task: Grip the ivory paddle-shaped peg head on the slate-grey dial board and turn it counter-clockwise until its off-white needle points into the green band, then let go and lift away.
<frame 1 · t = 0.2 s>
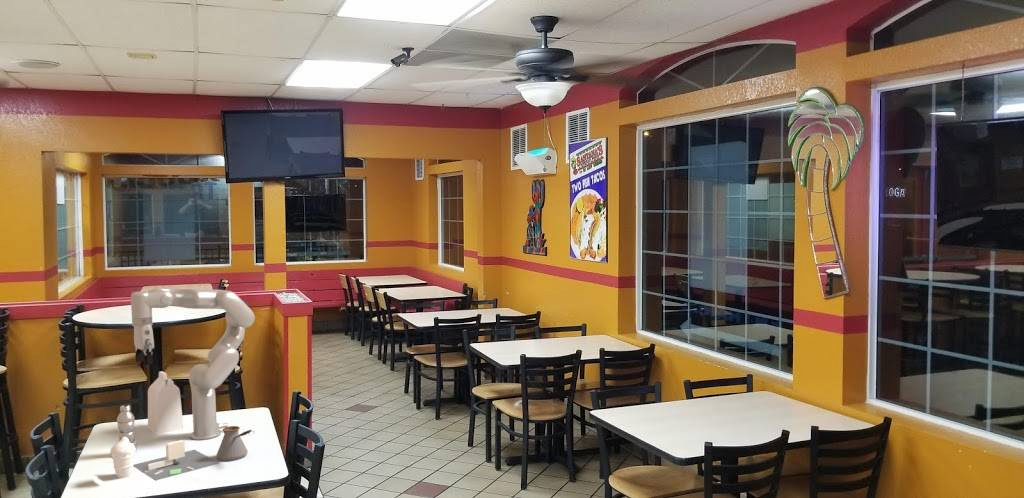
hand: (144, 362, 310), 36 cm above the table, tool pointing down, fingers open, 9 cm apart
milk: (165, 429, 341), on the table
peg head: (166, 455, 286), point 6 cm above the table, hinge at 0.0°
coffee pot: (239, 463, 294), on the table
soft serve ice cream cone: (124, 480, 278), on the table
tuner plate: (176, 467, 289), on the table
plastic bottle: (127, 454, 307), on the table
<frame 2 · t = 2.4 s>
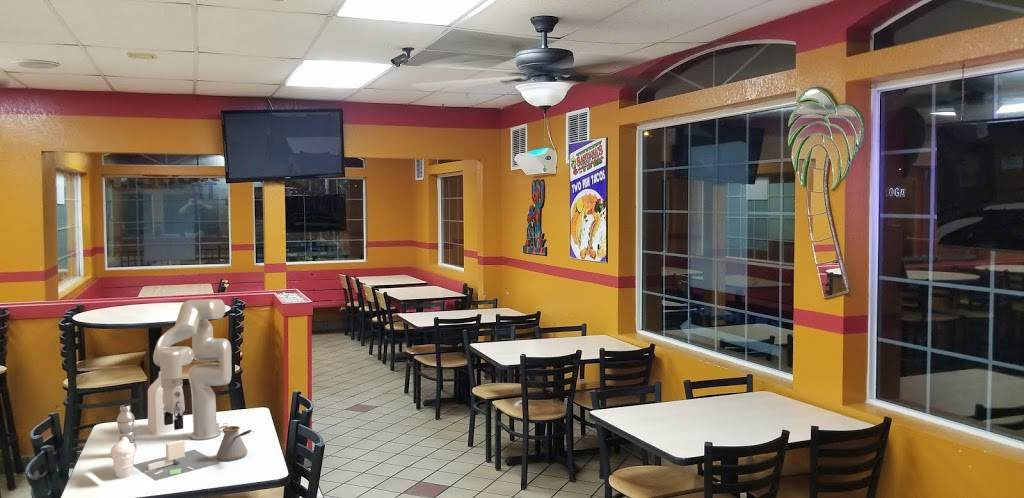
hand: (173, 426, 288), 16 cm above the table, tool pointing down, fingers open, 9 cm apart
nothing on the table moved.
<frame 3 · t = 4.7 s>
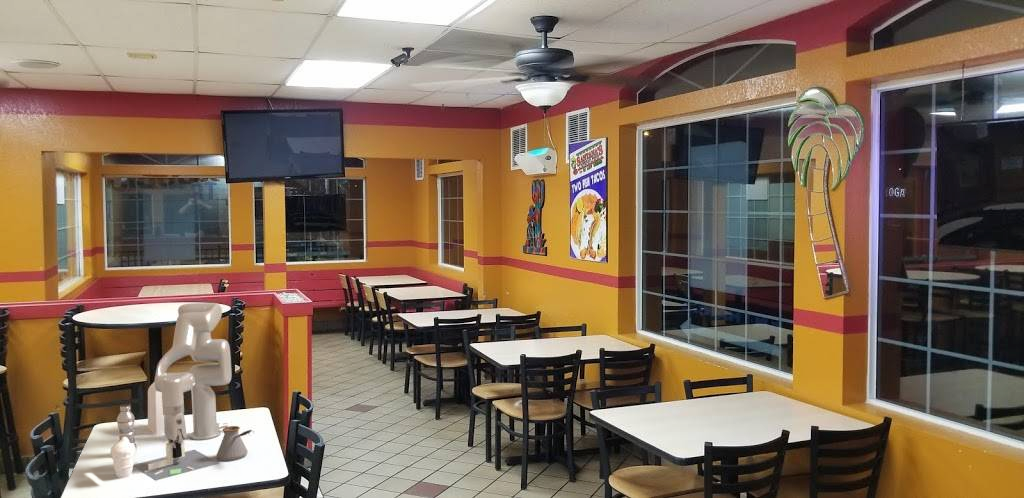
hand: (175, 456, 289), 5 cm above the table, tool pointing down, fingers closed on peg head, 2 cm apart
peg head: (166, 455, 286), point 6 cm above the table, hinge at 0.0°, touching gripper
everything else where it was.
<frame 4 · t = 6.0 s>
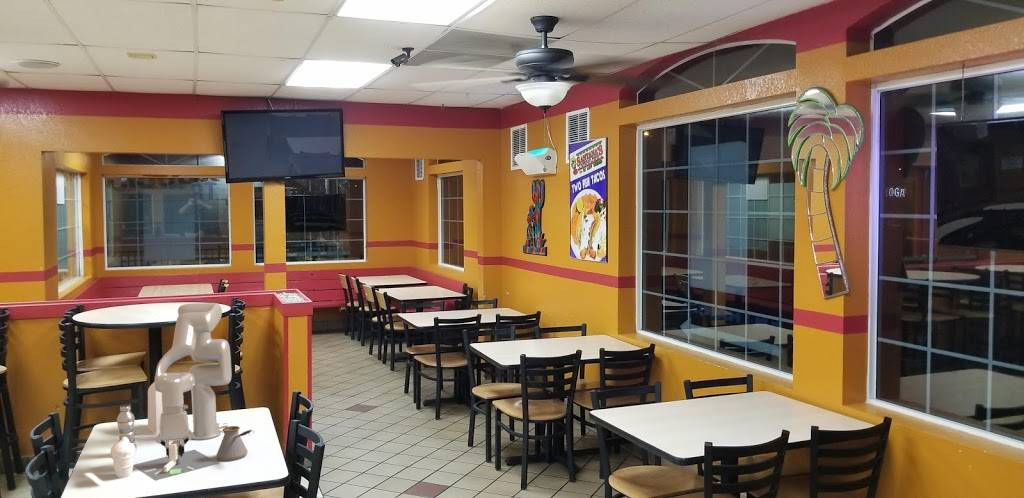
hand: (175, 455, 289), 5 cm above the table, tool pointing down, fingers closed on peg head, 3 cm apart
peg head: (171, 456, 285), point 6 cm above the table, hinge at 47.6°, touching gripper
everything else where it was.
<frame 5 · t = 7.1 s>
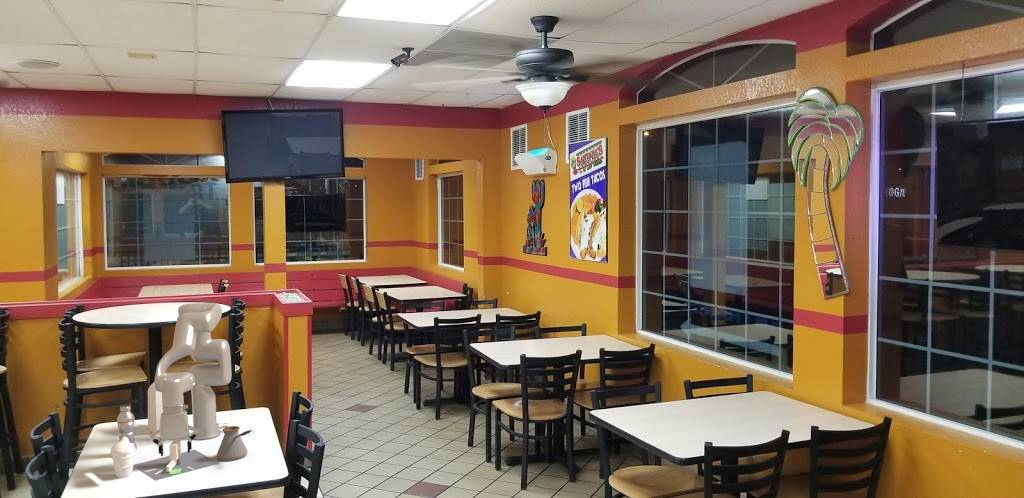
hand: (175, 453, 289), 6 cm above the table, tool pointing down, fingers open, 9 cm apart
peg head: (172, 455, 285), point 6 cm above the table, hinge at 52.6°
everything else where it was.
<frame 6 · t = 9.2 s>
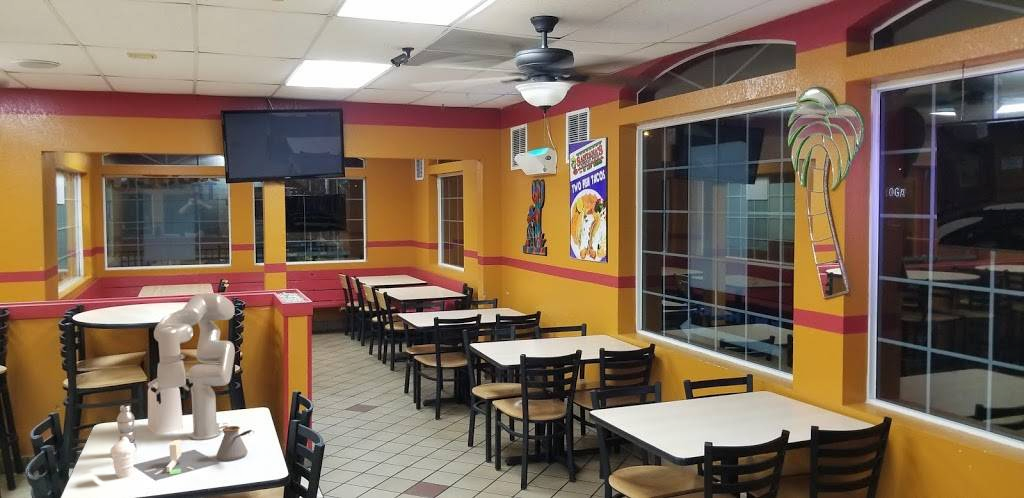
hand: (173, 401, 298), 23 cm above the table, tool pointing down, fingers open, 9 cm apart
peg head: (172, 455, 285), point 6 cm above the table, hinge at 53.3°
everything else where it was.
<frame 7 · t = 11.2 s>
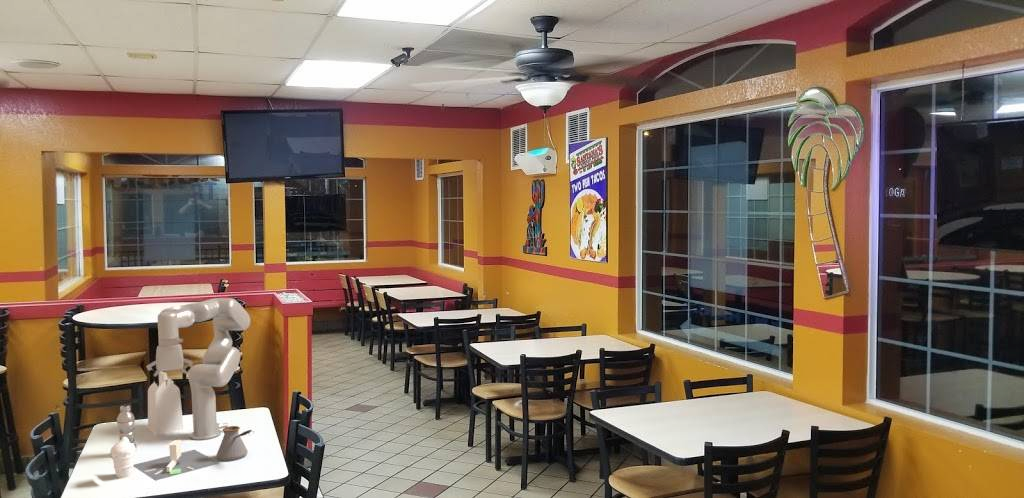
hand: (170, 384, 306), 28 cm above the table, tool pointing down, fingers open, 9 cm apart
nothing on the table moved.
at the end: peg head at +53° (first picture: +0°); the gripper is holding nothing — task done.
